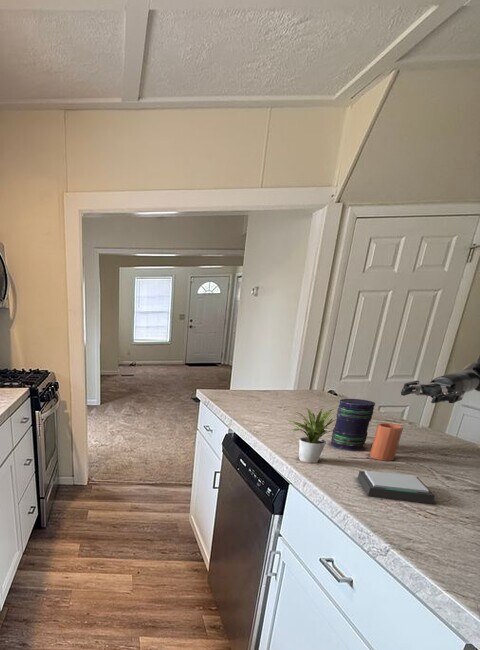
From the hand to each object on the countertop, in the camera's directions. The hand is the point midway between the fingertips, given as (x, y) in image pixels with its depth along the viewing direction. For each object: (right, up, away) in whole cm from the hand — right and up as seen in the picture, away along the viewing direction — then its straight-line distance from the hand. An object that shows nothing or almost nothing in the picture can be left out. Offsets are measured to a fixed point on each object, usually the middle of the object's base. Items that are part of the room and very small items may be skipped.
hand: (417, 395), depth 120 cm
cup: (-8, -18, +4) cm, 20 cm away
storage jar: (-12, -14, +14) cm, 24 cm away
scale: (-22, -28, -19) cm, 40 cm away
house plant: (-31, -19, +3) cm, 36 cm away
